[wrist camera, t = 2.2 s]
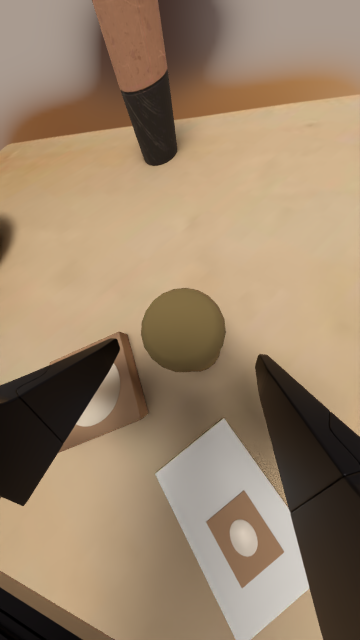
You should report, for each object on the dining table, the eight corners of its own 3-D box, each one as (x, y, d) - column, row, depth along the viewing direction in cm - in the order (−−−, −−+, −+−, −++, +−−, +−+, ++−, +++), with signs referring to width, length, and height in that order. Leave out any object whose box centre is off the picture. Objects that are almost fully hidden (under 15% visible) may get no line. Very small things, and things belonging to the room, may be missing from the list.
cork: (163, 336, 19) (110, 304, 9) (203, 313, 19) (198, 253, 9) (185, 381, 17) (150, 408, 7) (230, 355, 17) (265, 343, 7)
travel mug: (162, 170, 29) (75, -197, 10) (136, 162, 31) (25, -146, 12) (186, 145, 30) (146, -236, 11) (158, 138, 32) (87, -182, 13)
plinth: (148, 413, 17) (140, 420, 15) (72, 443, 17) (55, 454, 15) (127, 334, 20) (118, 331, 18) (64, 362, 21) (48, 362, 19)
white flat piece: (329, 565, 11) (333, 572, 11) (239, 643, 11) (240, 653, 11) (223, 417, 15) (224, 418, 15) (155, 472, 15) (154, 475, 15)
